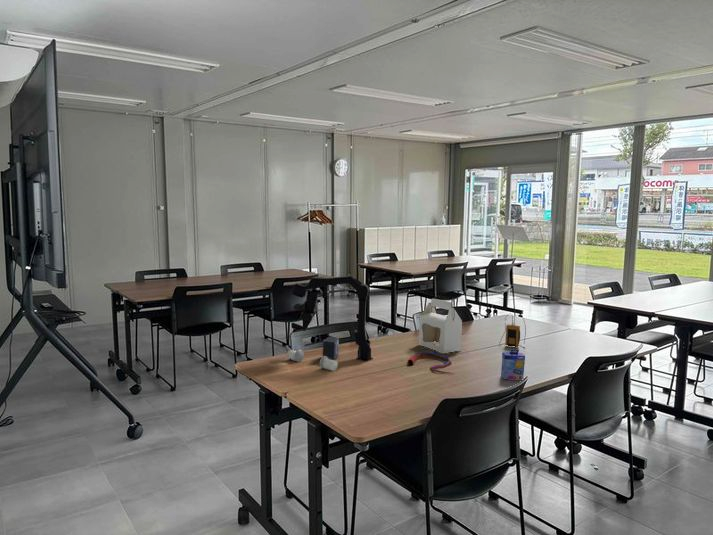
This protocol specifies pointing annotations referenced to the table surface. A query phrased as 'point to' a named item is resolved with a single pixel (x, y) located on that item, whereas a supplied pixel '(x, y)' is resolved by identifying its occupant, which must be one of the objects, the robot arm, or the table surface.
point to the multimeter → (513, 334)
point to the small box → (331, 347)
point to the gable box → (440, 327)
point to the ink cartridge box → (512, 365)
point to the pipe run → (324, 363)
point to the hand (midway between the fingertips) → (304, 328)
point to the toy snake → (432, 355)
